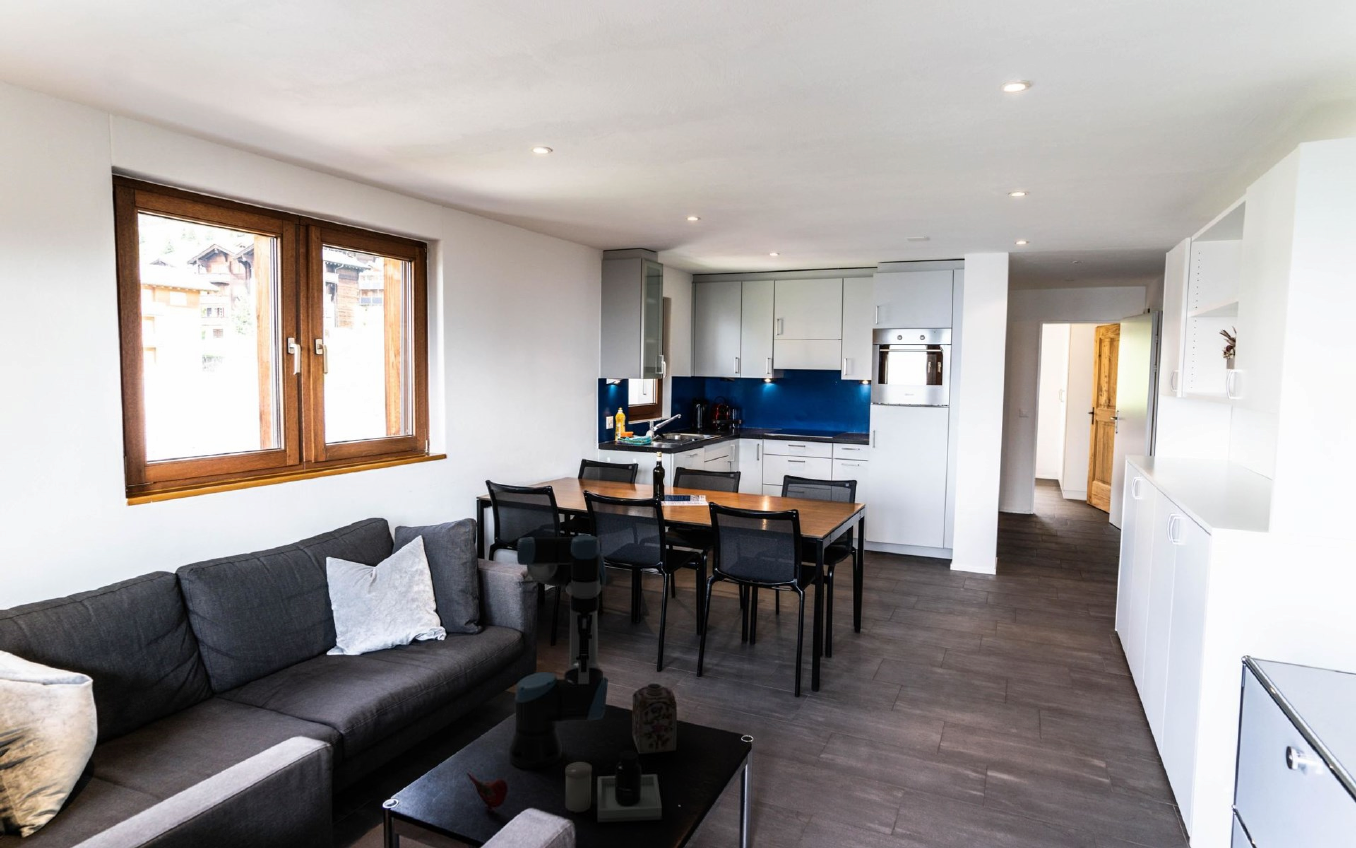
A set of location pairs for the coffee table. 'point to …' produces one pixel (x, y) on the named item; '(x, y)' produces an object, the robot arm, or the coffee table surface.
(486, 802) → the decorative bird figurine
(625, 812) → the sage tray
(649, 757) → the coffee table surface
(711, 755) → the coffee table surface
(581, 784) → the cream canister
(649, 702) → the decorative jar
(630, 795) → the supplement bottle
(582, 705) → the robot arm
